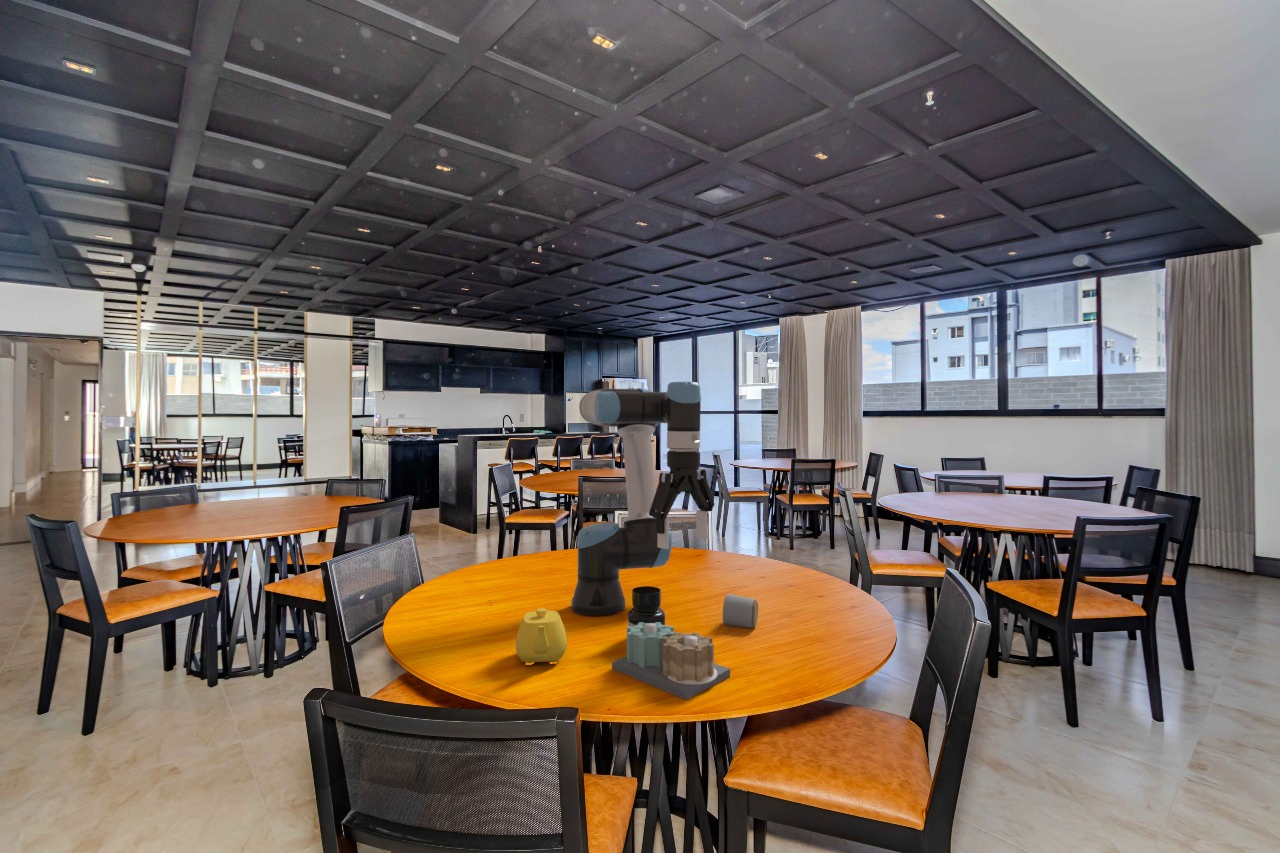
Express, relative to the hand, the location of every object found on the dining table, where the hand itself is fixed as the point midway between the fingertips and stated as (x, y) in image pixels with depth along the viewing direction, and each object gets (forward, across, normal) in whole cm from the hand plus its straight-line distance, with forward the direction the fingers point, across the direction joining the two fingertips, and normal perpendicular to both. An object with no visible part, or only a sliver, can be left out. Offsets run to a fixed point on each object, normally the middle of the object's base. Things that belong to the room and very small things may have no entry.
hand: (683, 543), depth 131 cm
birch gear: (+22, -12, -11) cm, 27 cm away
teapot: (+24, -26, +18) cm, 40 cm away
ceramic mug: (+25, +23, 0) cm, 34 cm away
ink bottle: (+25, -2, +10) cm, 27 cm away
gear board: (+24, -12, -7) cm, 27 cm away
